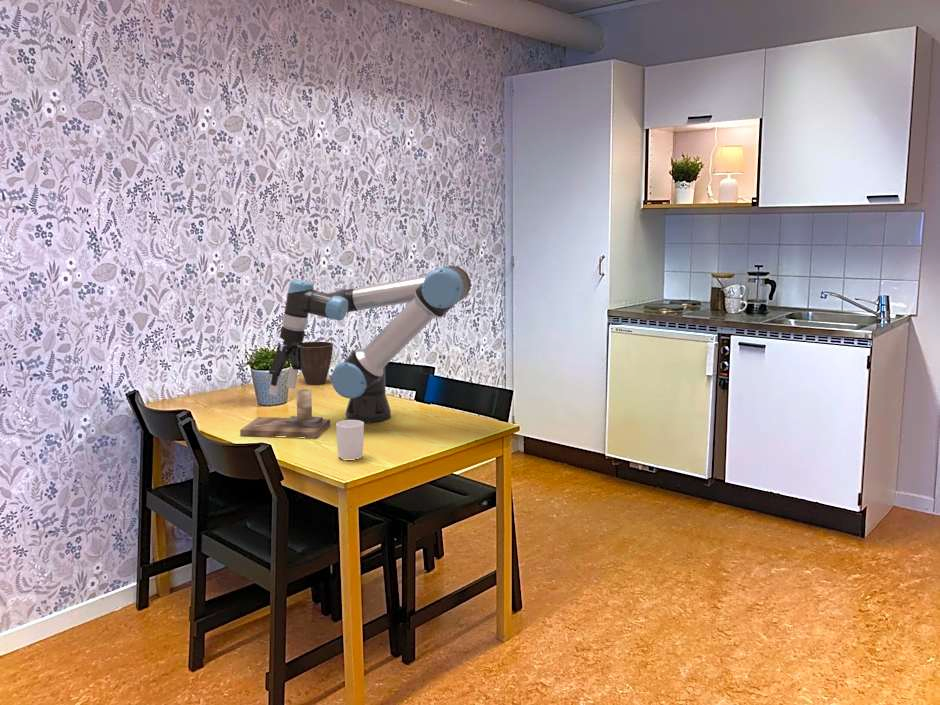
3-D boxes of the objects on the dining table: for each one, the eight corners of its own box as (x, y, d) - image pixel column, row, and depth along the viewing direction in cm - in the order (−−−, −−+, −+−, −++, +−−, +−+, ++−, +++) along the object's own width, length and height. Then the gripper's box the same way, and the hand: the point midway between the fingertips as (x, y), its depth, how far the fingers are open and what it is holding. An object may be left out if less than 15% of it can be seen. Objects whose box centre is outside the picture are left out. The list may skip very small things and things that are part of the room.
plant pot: (289, 385, 321) (288, 345, 319) (308, 378, 335) (307, 340, 333) (322, 388, 317) (321, 348, 314) (340, 380, 331) (339, 342, 328)
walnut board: (330, 425, 262) (330, 419, 262) (316, 438, 246) (316, 432, 246) (258, 422, 264) (258, 416, 264) (240, 436, 249) (240, 429, 248)
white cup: (368, 454, 231) (368, 421, 229) (357, 462, 223) (357, 428, 222) (343, 452, 233) (343, 418, 231) (331, 460, 226) (331, 425, 224)
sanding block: (322, 423, 257) (322, 389, 255) (317, 428, 251) (316, 393, 249) (292, 422, 258) (291, 388, 256) (286, 427, 252) (285, 392, 250)
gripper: (298, 322, 271) (287, 382, 274) (265, 328, 247) (253, 394, 250) (319, 327, 270) (307, 388, 273) (288, 334, 245) (276, 400, 249)
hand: (281, 391), depth 261 cm, fingers open, 13 cm apart
